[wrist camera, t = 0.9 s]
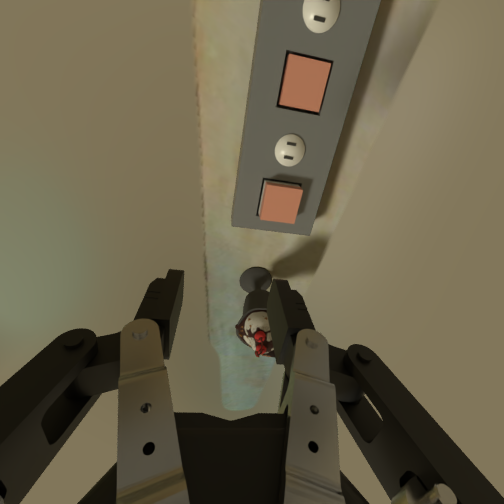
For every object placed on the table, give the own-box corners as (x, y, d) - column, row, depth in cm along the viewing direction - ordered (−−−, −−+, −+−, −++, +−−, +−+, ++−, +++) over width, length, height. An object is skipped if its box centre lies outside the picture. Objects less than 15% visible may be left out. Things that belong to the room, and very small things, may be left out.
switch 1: (264, 179, 29) (267, 184, 27) (297, 184, 30) (303, 190, 28) (258, 212, 31) (260, 219, 29) (289, 216, 32) (294, 223, 30)
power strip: (265, -36, 23) (271, -60, 20) (367, -7, 24) (389, -25, 21) (231, 215, 34) (231, 227, 31) (302, 224, 36) (310, 236, 32)
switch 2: (284, 58, 25) (289, 53, 23) (322, 67, 26) (331, 63, 24) (275, 104, 27) (280, 104, 25) (311, 111, 28) (318, 112, 26)
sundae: (240, 257, 37) (246, 337, 24) (282, 267, 39) (310, 347, 26) (228, 292, 40) (229, 380, 27) (268, 300, 42) (287, 387, 29)
